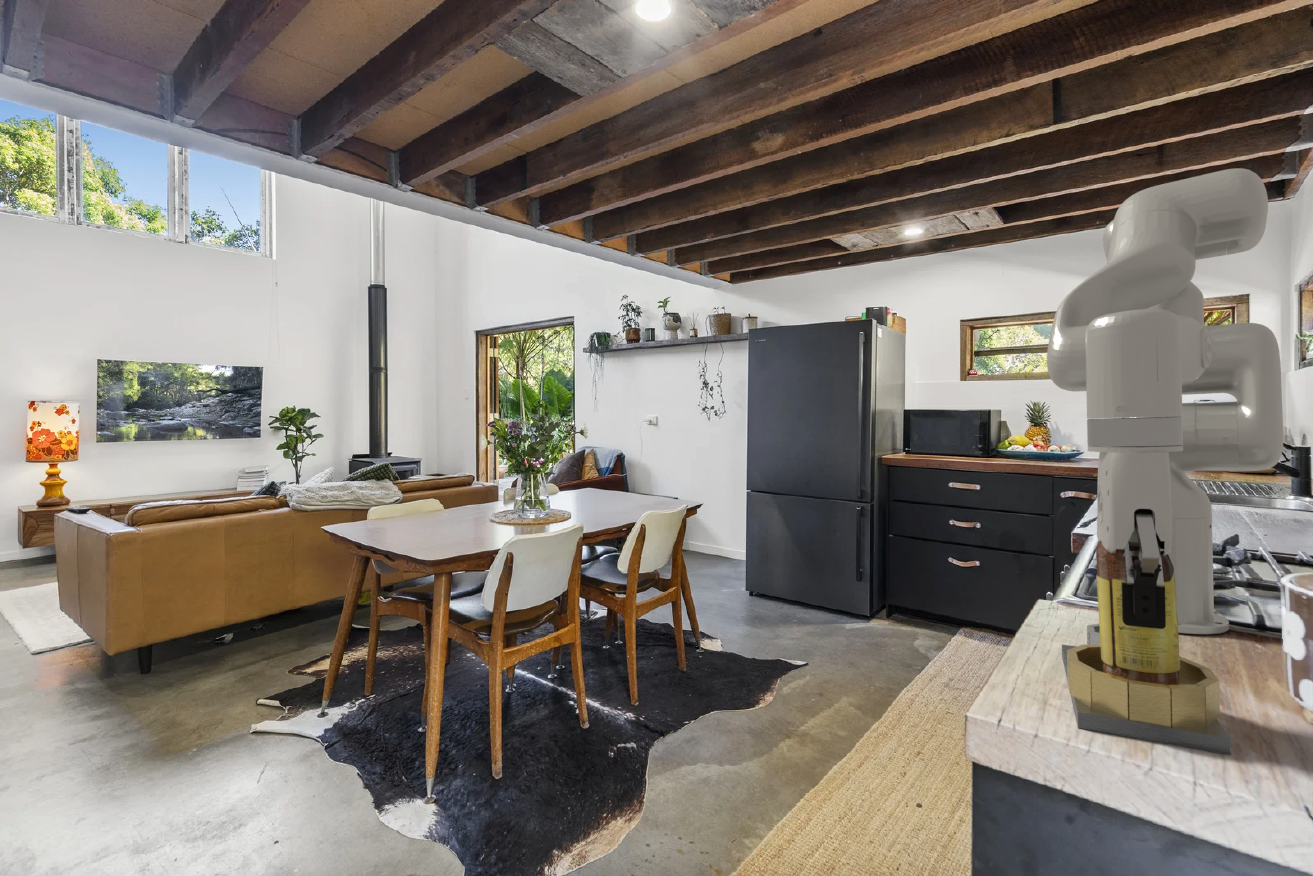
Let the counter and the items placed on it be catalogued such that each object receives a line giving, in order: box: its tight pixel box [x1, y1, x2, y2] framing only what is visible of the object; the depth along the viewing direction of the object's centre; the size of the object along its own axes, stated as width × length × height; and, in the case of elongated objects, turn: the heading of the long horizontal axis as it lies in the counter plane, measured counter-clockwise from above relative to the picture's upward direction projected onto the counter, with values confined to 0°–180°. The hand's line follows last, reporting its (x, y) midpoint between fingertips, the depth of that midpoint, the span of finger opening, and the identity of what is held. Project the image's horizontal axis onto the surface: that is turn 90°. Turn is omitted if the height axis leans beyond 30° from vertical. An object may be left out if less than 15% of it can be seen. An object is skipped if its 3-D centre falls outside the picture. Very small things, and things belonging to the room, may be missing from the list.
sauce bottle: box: [1095, 523, 1181, 685], centre depth 61 cm, size 6×6×20 cm
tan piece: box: [1061, 623, 1232, 756], centre depth 65 cm, size 21×12×5 cm, turn 150°
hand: (1137, 614), depth 61 cm, fingers closed on sauce bottle, 6 cm apart
